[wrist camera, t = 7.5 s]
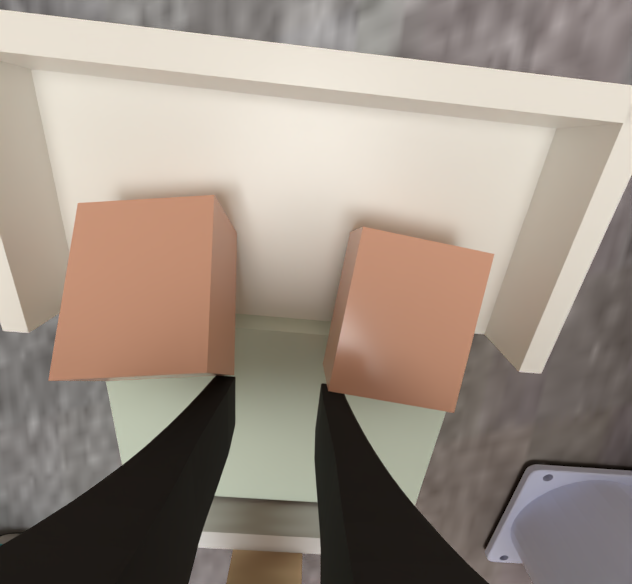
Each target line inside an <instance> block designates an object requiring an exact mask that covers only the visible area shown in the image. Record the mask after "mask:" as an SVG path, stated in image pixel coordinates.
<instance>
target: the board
mask: <svg viewBox="0 0 632 584" xmlns="http://www.w3.org/2000/svg"><path fill="white" fill-rule="evenodd" d="M330 326H331V321H319V320H308V319H296V318H284V317H272V316H260V315H248V314H236V313H235V365H234V375H227V376H233V377H236V383H235V428H234V433H233V437H232V442H231V446H230V450H229V455H228V458H227V461H226V464H225V466H224V469H223V472H222V475H221V478H220V481H219V484H218V487H217V490H216V493H215V496H221V497H237V498H254V499H270V500H287V501H304V502H317V489H316V475H315V461H314V455H315V427H316V419H317V411H318V404H319V396H320V388H321V383H325V384H327V383H326V378H325V373H324V368H323V360H324V355H325V350H326V345H327V341H328V336H329V331H330ZM214 377H215V376H207V377H187V378H166V379H146V380H126V381H106V384H107V389H108V395H109V400H110V405H111V410H112V415H113V420H114V425H115V430H116V436H117V441H118V446H119V451H120V456H121V461H122V465H123V464H124V463H126V462H127V461H128V460H129V459H131V458H132V457H133V456H134V455H135V454H137V453H138V452H139V451H140V450H141V449H143V448H144V447H145V446H146V445H147V444H148V443H150V442H151V441H152V440H153V439H154V438H155V437H156V436H157V435H158V434H159V433H160V432H162V431H163V430H164V429H165V428H166V427H167V426H168V425H169V424H170V423H171V422H172V421H173V420H174V419H175V418H176V417H177V416H178V415H179V414H180V413H181V412H182V411H183V410H184V409H185V408H186V407H187V406H188V405H189V404H190V403H191V402H192V401H193V400H194V399H195V398H196V397H197V396H198V395H199V394H200V393H201V391H202V390H203V389H204V388H205V387H206V386H207V385H208V384H209V382H210V381H211V380H212V379H213V378H214ZM345 396H346V399H347V401H348V403H349V405H350V407H351V409H352V411H353V413H354V415H355V417H356V419H357V421H358V423H359V425H360V427H361V428H362V430H363V432H364V434H365V436H366V437H367V439H368V441H369V442H370V444H371V446H372V447H373V449H374V451H375V452H376V454H377V455H378V457H379V458H380V460H381V461H382V463H383V464H384V466H385V467H386V469H387V470H388V472H389V473H390V475H391V476H392V477H393V479H394V480H395V481H396V483H397V484H398V485H399V487H400V488H401V489H402V491H403V492H404V493H405V495H406V496H407V497H408V498H409V500H410V501H411V502H412V503H413V505H414V506H415V504H416V501H417V498H418V495H419V492H420V489H421V486H422V483H423V480H424V477H425V474H426V471H427V468H428V465H429V462H430V459H431V456H432V453H433V450H434V447H435V444H436V441H437V438H438V435H439V432H440V428H441V425H442V422H443V419H444V416H445V413H446V411H440V410H434V409H429V408H423V407H417V406H411V405H405V404H400V403H394V402H388V401H382V400H376V399H371V398H365V397H359V396H353V395H348V394H345Z"/></svg>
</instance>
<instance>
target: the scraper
mask: <svg viewBox="0 0 632 584" xmlns="http://www.w3.org/2000/svg"><path fill="white" fill-rule="evenodd" d="M198 547H199V548H217V549H233V553H232V558H231V563H230V568H229V573H228V578H227V583H226V584H301V581H302V553H307V554H321V547H320V528H319V515H318V502H304V501H287V500H270V499H254V498H237V497H221V496H214V499H213V501H212V504H211V507H210V510H209V513H208V516H207V519H206V522H205V525H204V528H203V531H202V534H201V537H200V541H199V544H198Z"/></svg>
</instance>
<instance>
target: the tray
mask: <svg viewBox="0 0 632 584" xmlns="http://www.w3.org/2000/svg"><path fill="white" fill-rule="evenodd" d="M631 175H632V85H624V84H615V83H607V82H599V81H590V80H582V79H574V78H565V77H557V76H549V75H540V74H532V73H524V72H515V71H507V70H499V69H490V68H482V67H474V66H465V65H457V64H449V63H440V62H432V61H424V60H415V59H407V58H399V57H390V56H382V55H374V54H365V53H357V52H349V51H340V50H332V49H324V48H315V47H307V46H299V45H290V44H282V43H274V42H266V41H257V40H249V39H241V38H232V37H224V36H216V35H207V34H199V33H191V32H182V31H174V30H166V29H157V28H149V27H141V26H132V25H124V24H116V23H107V22H99V21H91V20H82V19H74V18H66V17H57V16H49V15H41V14H32V13H24V12H16V11H7V10H0V323H1V326H2V329H3V331H11V332H23V333H29V332H31V331H32V330H34V329H35V328H37V327H39V326H40V325H42V324H43V323H45V322H46V321H48V320H49V319H51V318H52V317H54V316H56V315H57V314H59V313H60V308H61V302H62V296H63V289H64V283H65V277H66V271H67V265H68V259H69V253H70V247H71V241H72V235H73V229H74V223H75V217H76V211H77V205H78V203H86V202H102V201H119V200H136V199H153V198H170V197H187V196H203V195H215V197H216V199H217V200H218V202H219V204H220V205H221V207H222V209H223V210H224V212H225V214H226V215H227V217H228V219H229V220H230V222H231V224H232V225H233V227H234V229H235V230H236V232H237V260H236V312H235V313H236V314H248V315H260V316H272V317H284V318H296V319H308V320H319V321H332V317H333V312H334V307H335V302H336V297H337V292H338V288H339V283H340V278H341V273H342V268H343V263H344V259H345V254H346V249H347V244H348V239H349V235H350V232H352V231H354V230H356V229H358V228H361V227H368V228H372V229H377V230H382V231H387V232H392V233H396V234H401V235H406V236H411V237H415V238H420V239H425V240H430V241H435V242H439V243H444V244H449V245H454V246H459V247H463V248H468V249H473V250H478V251H482V252H487V253H492V254H494V258H493V262H492V265H491V269H490V273H489V277H488V281H487V285H486V289H485V293H484V297H483V301H482V305H481V309H480V313H479V317H478V321H477V324H476V328H475V332H474V334H485V335H486V337H487V338H488V339H489V340H490V341H491V342H492V343H493V344H494V345H495V346H496V347H497V349H498V350H499V351H500V352H501V353H502V354H503V355H504V356H505V357H506V358H507V360H508V361H509V362H510V363H511V364H512V365H513V366H514V367H515V368H516V369H517V370H518V372H526V373H539V374H541V373H542V371H543V369H544V366H545V364H546V362H547V360H548V358H549V355H550V353H551V351H552V349H553V347H554V344H555V342H556V340H557V338H558V336H559V333H560V331H561V329H562V327H563V325H564V322H565V320H566V318H567V316H568V314H569V311H570V309H571V307H572V305H573V303H574V300H575V298H576V296H577V294H578V292H579V289H580V287H581V285H582V283H583V281H584V278H585V276H586V274H587V272H588V270H589V267H590V265H591V263H592V261H593V259H594V256H595V254H596V252H597V250H598V248H599V245H600V243H601V241H602V239H603V237H604V234H605V232H606V230H607V228H608V226H609V223H610V221H611V219H612V217H613V215H614V212H615V210H616V208H617V206H618V204H619V201H620V199H621V197H622V195H623V193H624V190H625V188H626V186H627V184H628V182H629V179H630V177H631Z"/></svg>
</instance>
